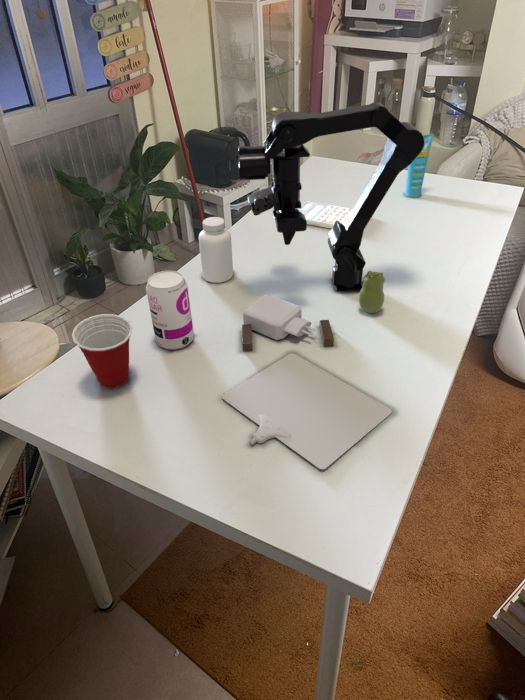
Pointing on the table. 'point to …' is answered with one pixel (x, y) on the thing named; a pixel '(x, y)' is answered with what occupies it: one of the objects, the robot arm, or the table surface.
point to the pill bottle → (215, 250)
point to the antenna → (306, 409)
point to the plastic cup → (105, 347)
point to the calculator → (323, 214)
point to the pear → (372, 292)
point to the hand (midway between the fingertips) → (287, 244)
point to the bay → (323, 325)
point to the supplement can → (170, 309)
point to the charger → (276, 318)
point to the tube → (418, 169)
